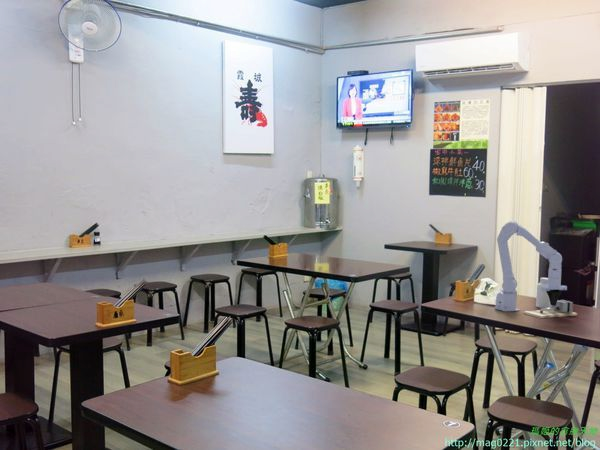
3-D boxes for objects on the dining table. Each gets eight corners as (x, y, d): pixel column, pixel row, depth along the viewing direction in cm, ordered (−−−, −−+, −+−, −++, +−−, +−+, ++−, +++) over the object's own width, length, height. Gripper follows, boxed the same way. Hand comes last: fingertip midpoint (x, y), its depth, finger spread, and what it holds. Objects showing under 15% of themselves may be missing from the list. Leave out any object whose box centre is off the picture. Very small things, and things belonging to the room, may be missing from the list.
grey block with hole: (562, 312, 299) (562, 302, 299) (553, 310, 305) (553, 300, 304) (567, 312, 300) (567, 302, 300) (557, 309, 306) (558, 300, 305)
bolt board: (540, 318, 291) (540, 305, 290) (523, 313, 301) (524, 301, 300) (577, 315, 299) (577, 303, 299) (559, 310, 310) (560, 298, 309)
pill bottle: (555, 309, 314) (556, 279, 313) (539, 308, 314) (540, 279, 313) (549, 305, 322) (550, 277, 321) (533, 305, 322) (534, 276, 321)
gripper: (549, 279, 293) (547, 307, 294) (572, 278, 299) (570, 306, 299) (538, 277, 300) (536, 304, 300) (561, 276, 305) (559, 303, 306)
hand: (553, 305), depth 300 cm, fingers closed
